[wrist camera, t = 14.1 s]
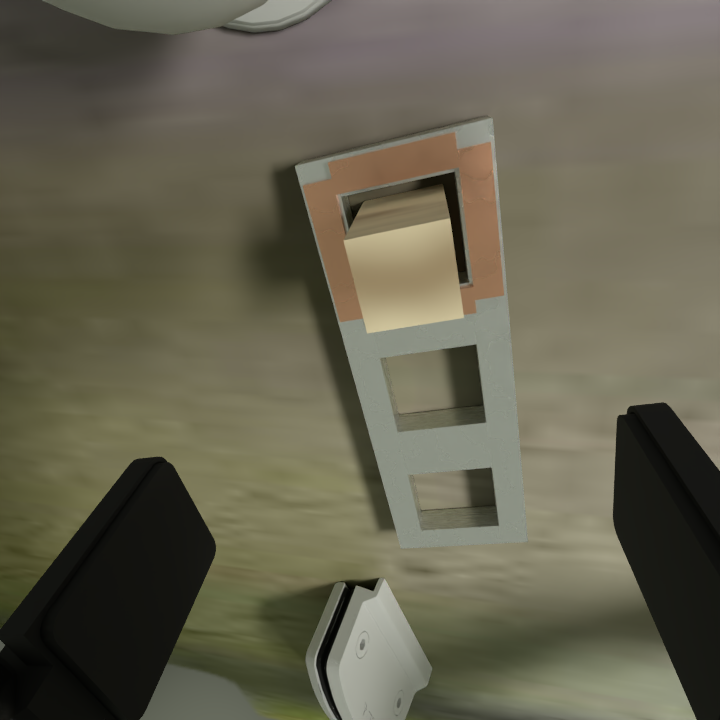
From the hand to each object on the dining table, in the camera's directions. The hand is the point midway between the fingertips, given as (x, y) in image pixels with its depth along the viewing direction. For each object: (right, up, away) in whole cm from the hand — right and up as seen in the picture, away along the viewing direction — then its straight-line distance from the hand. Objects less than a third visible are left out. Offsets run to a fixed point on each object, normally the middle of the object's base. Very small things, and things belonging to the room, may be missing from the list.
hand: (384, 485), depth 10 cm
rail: (+4, +2, +22) cm, 22 cm away
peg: (+2, +10, +17) cm, 20 cm away
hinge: (+1, -25, +39) cm, 46 cm away
